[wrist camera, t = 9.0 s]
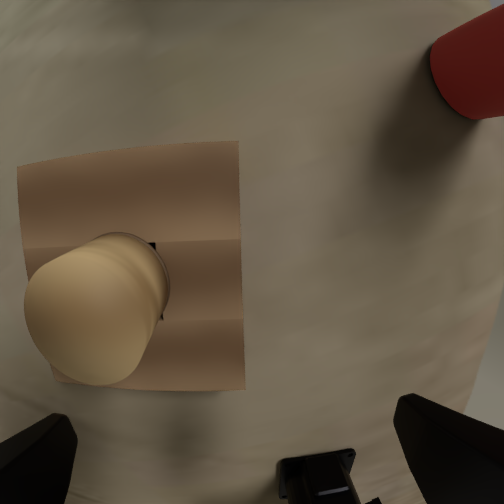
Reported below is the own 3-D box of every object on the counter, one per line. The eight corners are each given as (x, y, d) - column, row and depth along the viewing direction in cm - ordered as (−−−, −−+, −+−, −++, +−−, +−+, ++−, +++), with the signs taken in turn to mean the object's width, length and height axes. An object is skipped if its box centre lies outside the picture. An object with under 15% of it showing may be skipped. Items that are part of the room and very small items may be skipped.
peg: (182, 308, 18) (156, 390, 10) (103, 308, 18) (43, 379, 10) (175, 221, 17) (134, 253, 9) (92, 225, 17) (11, 258, 9)
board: (242, 362, 19) (245, 389, 17) (73, 358, 19) (56, 381, 16) (236, 147, 17) (238, 140, 14) (44, 167, 16) (17, 166, 13)
